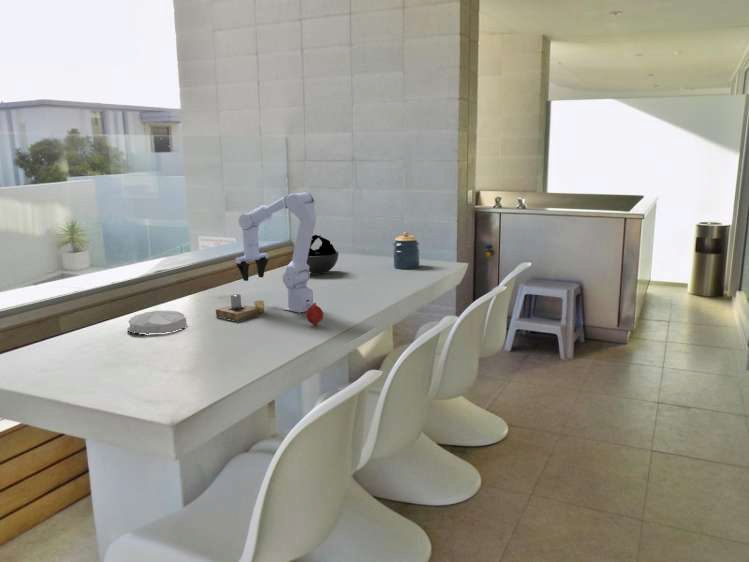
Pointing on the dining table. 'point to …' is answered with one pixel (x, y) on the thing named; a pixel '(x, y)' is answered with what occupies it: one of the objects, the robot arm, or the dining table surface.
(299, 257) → the robot arm
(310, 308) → the onion
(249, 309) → the collar block
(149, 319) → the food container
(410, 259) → the canister
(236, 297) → the steel pin long
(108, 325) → the dining table surface
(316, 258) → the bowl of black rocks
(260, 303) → the brass pin short
